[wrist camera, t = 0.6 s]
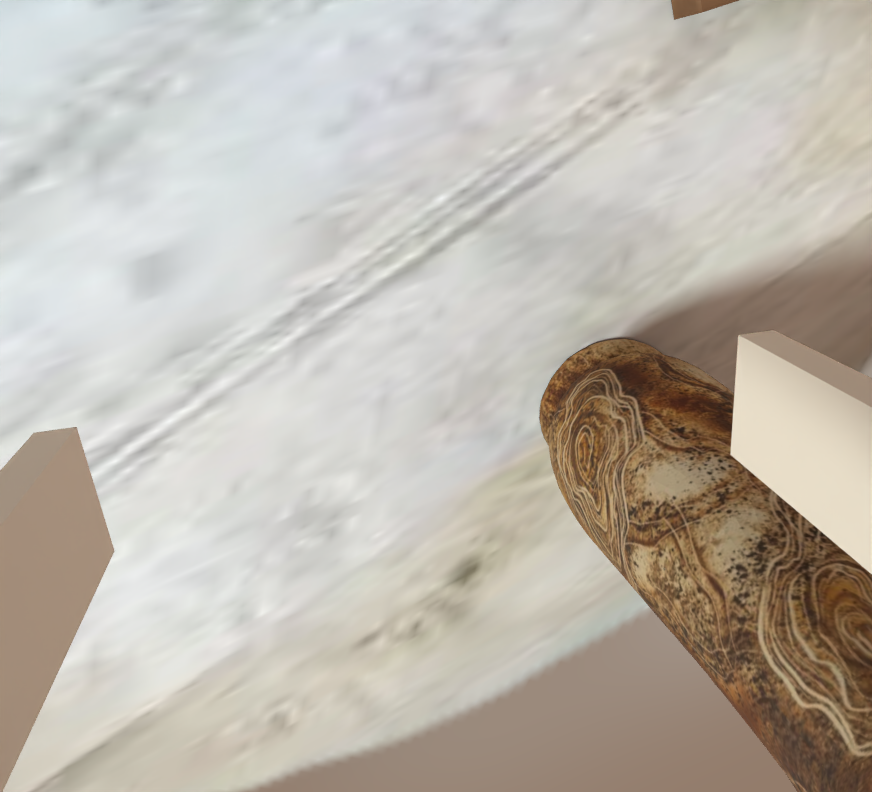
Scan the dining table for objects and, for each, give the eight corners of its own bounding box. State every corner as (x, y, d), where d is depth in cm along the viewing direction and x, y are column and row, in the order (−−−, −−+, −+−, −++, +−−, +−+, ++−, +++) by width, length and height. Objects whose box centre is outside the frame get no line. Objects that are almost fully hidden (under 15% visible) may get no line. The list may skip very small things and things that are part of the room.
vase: (704, 444, 47) (1255, 924, 19) (552, 511, 47) (880, 1084, 19) (661, 299, 43) (1279, 642, 15) (494, 373, 43) (806, 848, 15)
